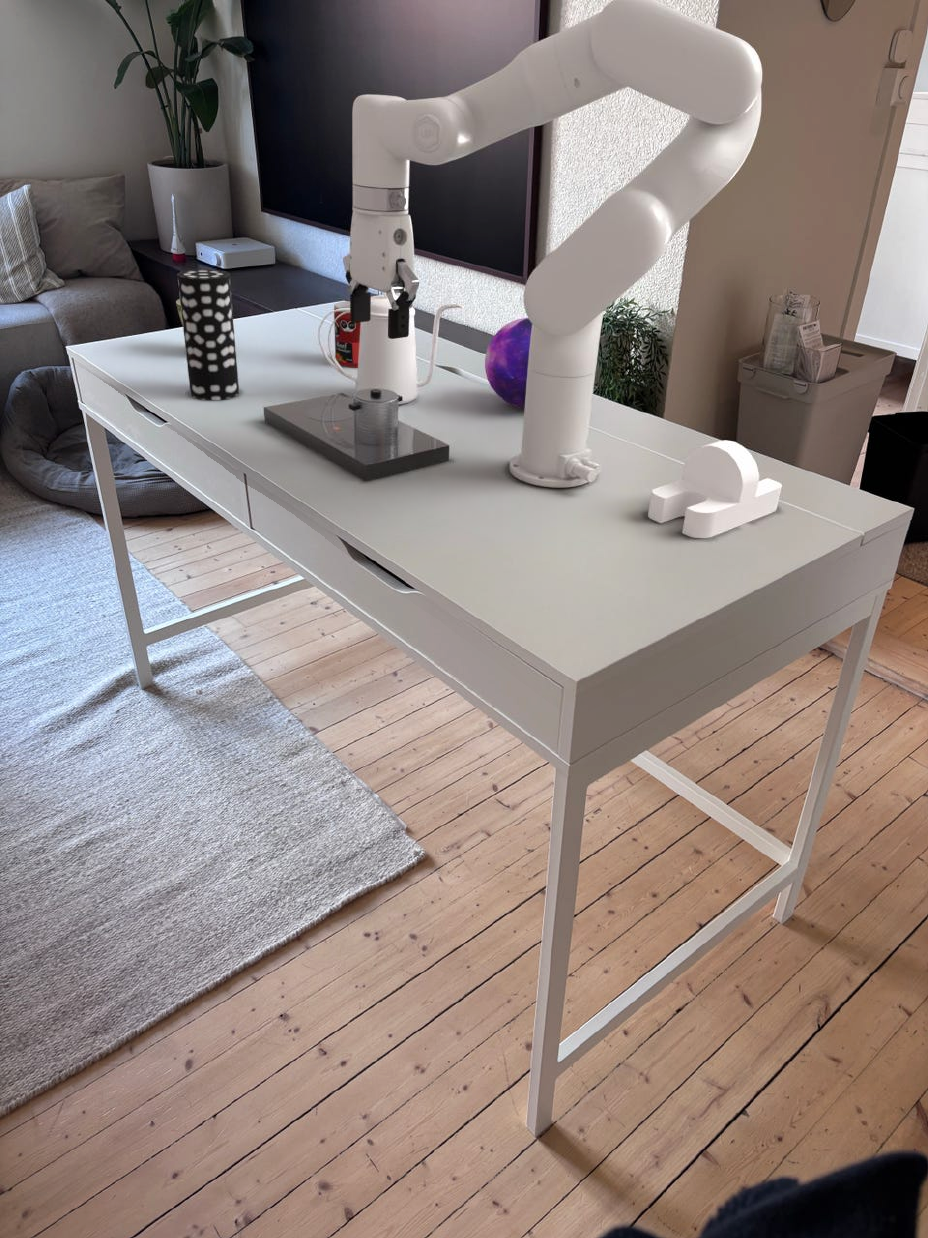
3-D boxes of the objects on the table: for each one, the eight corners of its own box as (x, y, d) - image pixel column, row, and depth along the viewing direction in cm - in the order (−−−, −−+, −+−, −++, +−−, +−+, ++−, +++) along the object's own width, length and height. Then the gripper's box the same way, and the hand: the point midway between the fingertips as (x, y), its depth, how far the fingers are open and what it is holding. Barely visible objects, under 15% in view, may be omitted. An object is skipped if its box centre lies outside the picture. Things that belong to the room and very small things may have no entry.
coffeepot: (456, 412, 161) (461, 299, 151) (314, 401, 163) (309, 289, 153) (462, 393, 170) (467, 286, 161) (327, 383, 172) (324, 276, 162)
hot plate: (449, 460, 141) (449, 444, 140) (366, 481, 133) (365, 464, 132) (342, 406, 161) (342, 392, 160) (264, 421, 153) (263, 406, 151)
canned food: (330, 358, 186) (328, 301, 181) (368, 355, 189) (367, 299, 184) (342, 369, 180) (341, 310, 175) (381, 365, 183) (381, 308, 178)
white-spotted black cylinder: (191, 401, 160) (177, 279, 150) (189, 386, 167) (177, 269, 157) (240, 399, 162) (230, 278, 152) (237, 384, 169) (227, 268, 159)
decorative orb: (494, 388, 174) (499, 305, 166) (574, 398, 171) (582, 314, 163) (473, 412, 161) (477, 323, 154) (558, 423, 158) (566, 333, 150)
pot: (412, 438, 142) (413, 391, 138) (363, 449, 137) (362, 401, 133) (388, 425, 146) (388, 380, 142) (339, 436, 141) (338, 389, 137)
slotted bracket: (700, 541, 120) (714, 469, 115) (643, 515, 127) (654, 446, 122) (780, 509, 131) (796, 442, 126) (724, 486, 137) (737, 421, 132)
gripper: (441, 208, 122) (435, 340, 131) (368, 190, 133) (367, 313, 142) (394, 210, 118) (391, 347, 126) (323, 191, 129) (325, 318, 138)
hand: (378, 329), depth 134 cm, fingers open, 9 cm apart
